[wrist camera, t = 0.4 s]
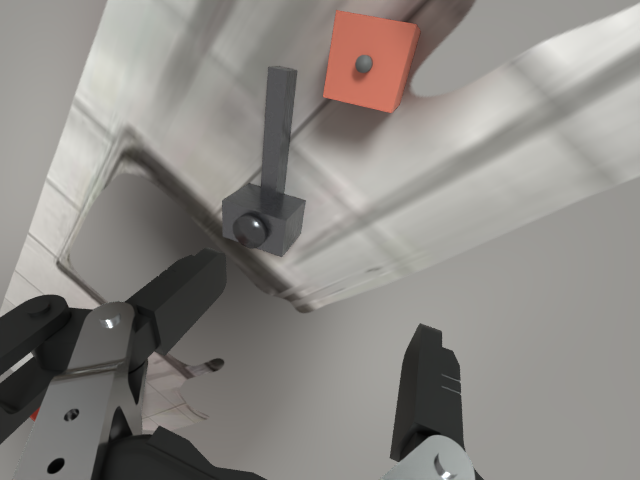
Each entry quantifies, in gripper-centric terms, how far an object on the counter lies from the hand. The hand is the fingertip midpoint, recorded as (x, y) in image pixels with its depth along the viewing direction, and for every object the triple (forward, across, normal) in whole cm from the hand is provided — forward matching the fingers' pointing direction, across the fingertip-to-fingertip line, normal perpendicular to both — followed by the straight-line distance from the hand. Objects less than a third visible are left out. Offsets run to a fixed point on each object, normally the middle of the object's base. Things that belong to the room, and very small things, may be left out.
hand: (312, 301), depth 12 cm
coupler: (+24, +13, +4) cm, 28 cm away
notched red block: (+25, +4, -7) cm, 26 cm away
